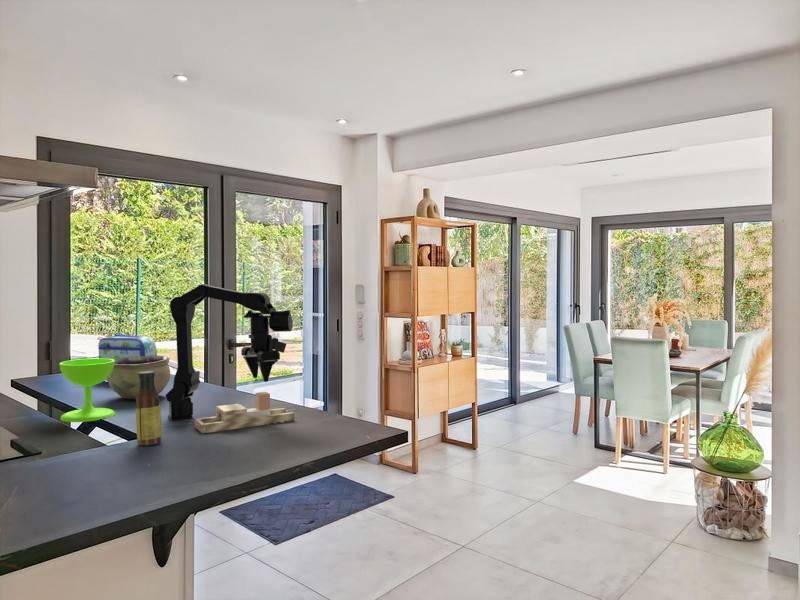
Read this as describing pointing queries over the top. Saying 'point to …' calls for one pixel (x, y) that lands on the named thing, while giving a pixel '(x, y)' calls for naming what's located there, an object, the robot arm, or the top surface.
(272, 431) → the top surface
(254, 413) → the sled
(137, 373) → the ceramic bowl
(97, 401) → the top surface
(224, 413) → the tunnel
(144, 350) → the lunch box
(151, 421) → the sauce bottle
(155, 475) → the top surface
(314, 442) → the top surface
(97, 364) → the wineglass
